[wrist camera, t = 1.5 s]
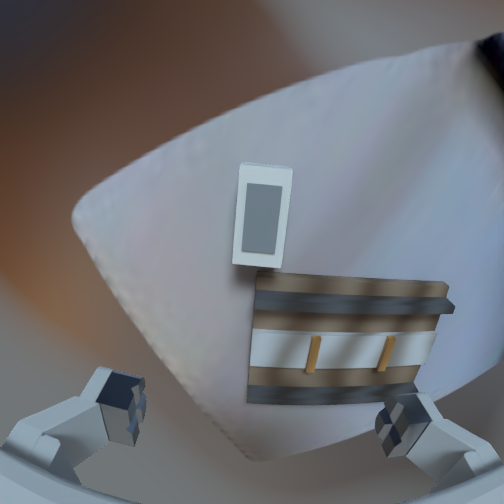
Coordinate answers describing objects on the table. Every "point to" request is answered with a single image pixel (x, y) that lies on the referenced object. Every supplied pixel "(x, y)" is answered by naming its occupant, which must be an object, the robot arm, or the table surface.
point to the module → (261, 214)
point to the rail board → (340, 337)
